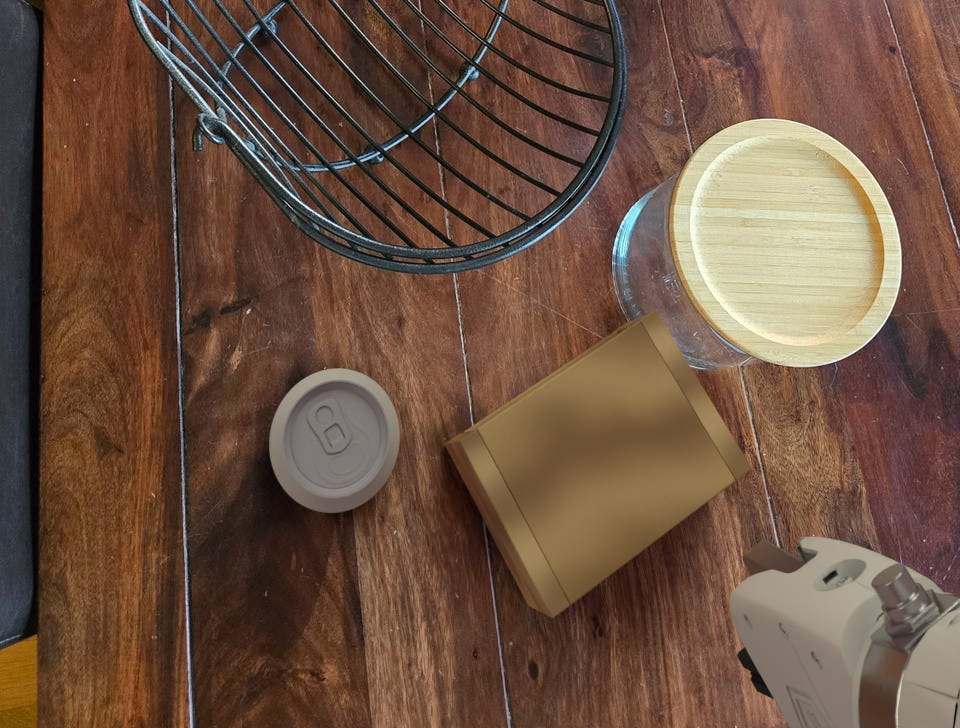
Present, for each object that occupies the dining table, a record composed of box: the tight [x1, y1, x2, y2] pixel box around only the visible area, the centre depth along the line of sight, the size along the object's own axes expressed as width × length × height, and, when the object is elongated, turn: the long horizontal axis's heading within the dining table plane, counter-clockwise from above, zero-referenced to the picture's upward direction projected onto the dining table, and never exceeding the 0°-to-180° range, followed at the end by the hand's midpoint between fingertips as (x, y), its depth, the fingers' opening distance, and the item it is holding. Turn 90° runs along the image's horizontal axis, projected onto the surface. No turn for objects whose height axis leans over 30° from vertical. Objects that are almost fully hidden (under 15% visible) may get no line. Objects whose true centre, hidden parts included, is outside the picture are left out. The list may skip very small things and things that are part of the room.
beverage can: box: [268, 367, 401, 514], centre depth 65 cm, size 7×7×12 cm
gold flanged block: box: [444, 309, 753, 619], centre depth 68 cm, size 10×14×7 cm
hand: (770, 650), depth 54 cm, fingers closed
